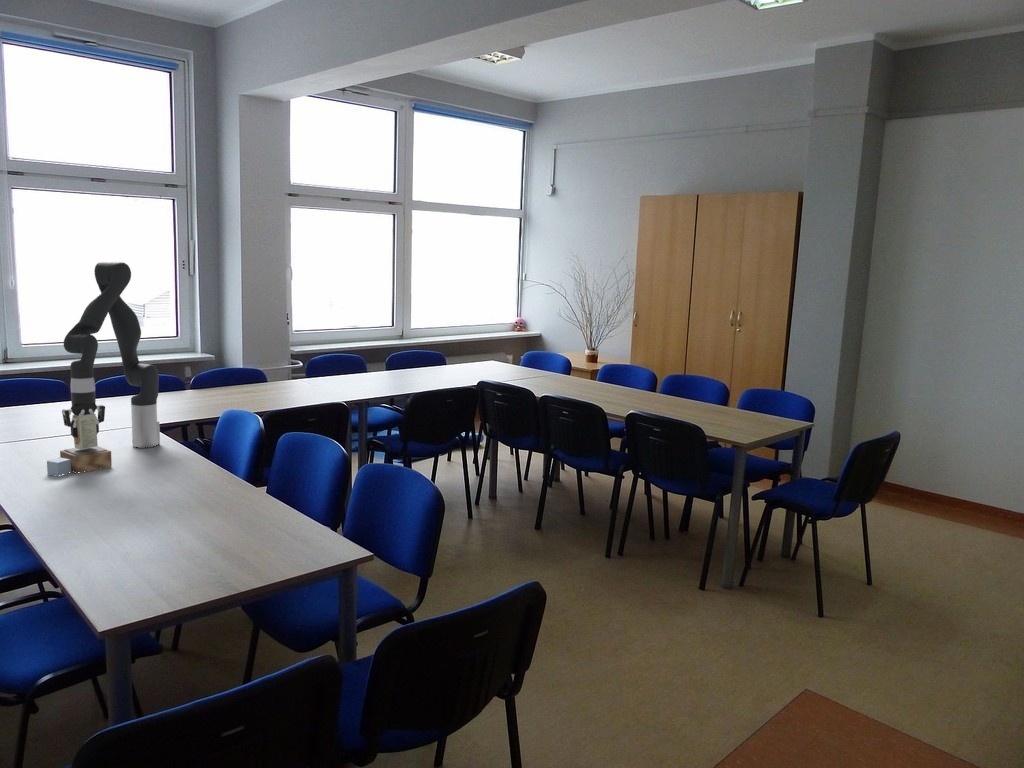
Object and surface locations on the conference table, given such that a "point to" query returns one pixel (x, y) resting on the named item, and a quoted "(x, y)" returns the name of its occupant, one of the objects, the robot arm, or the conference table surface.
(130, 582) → the conference table surface
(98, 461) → the walnut base
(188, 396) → the conference table surface
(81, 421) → the skincare box
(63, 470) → the slate cube
